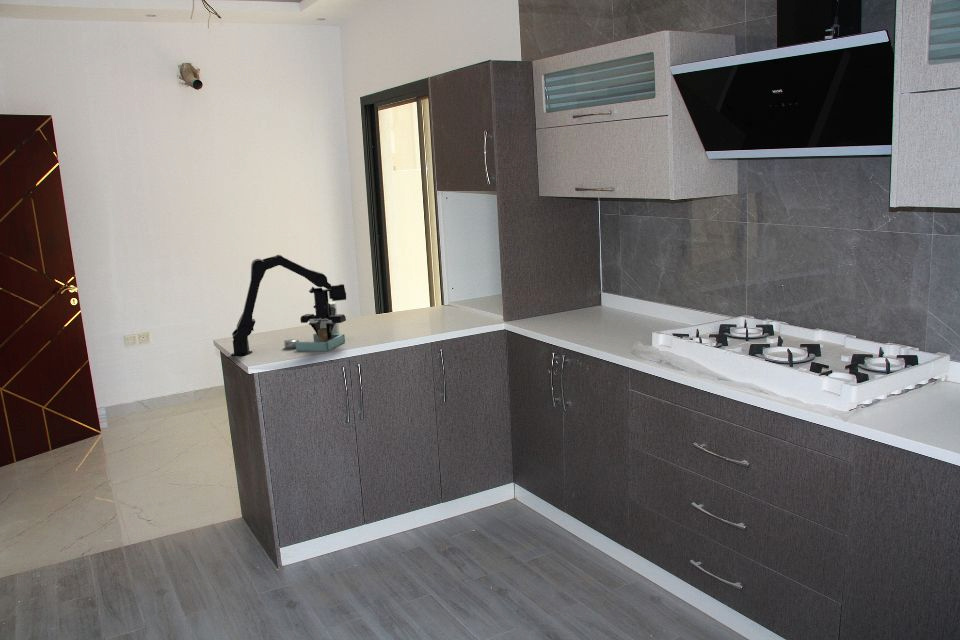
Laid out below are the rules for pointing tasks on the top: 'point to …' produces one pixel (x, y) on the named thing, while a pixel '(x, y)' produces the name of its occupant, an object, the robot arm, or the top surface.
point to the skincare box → (323, 323)
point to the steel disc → (290, 343)
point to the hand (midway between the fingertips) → (324, 338)
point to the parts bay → (321, 343)
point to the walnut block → (323, 335)
